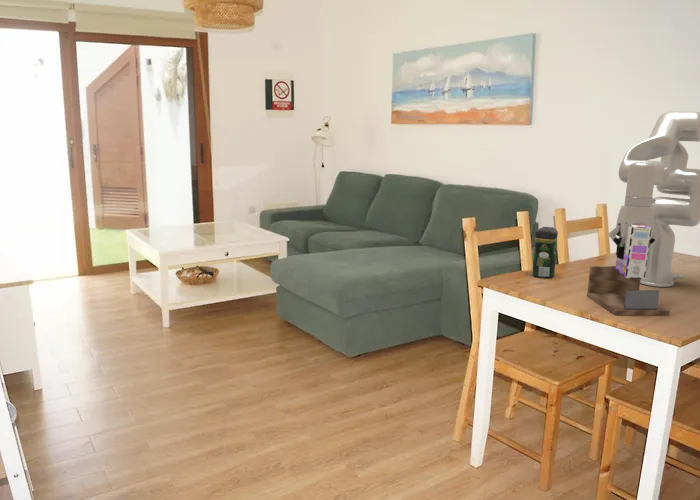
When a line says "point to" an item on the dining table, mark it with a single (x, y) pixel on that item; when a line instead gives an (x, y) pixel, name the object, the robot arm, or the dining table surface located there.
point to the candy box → (635, 252)
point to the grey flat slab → (641, 299)
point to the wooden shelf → (615, 291)
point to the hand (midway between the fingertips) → (631, 258)
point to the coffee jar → (545, 252)
